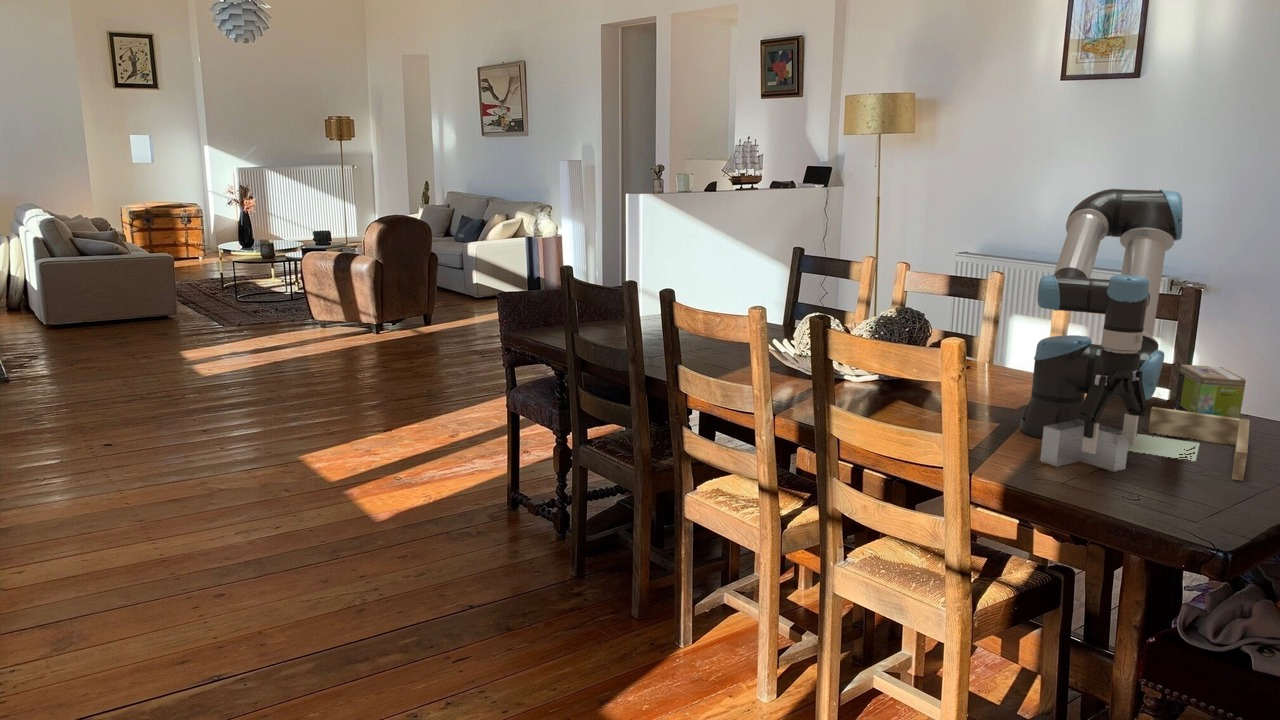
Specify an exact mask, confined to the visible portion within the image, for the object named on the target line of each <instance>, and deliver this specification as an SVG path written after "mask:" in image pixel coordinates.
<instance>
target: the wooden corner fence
mask: <svg viewBox="0 0 1280 720" xmlns="http://www.w3.org/2000/svg"><path fill="white" fill-rule="evenodd" d="M1149 416H1150V417H1149V424H1148V431H1147V433H1148V432H1149V433H1148V434H1153V433H1156V434H1155V435H1160V434H1161V436H1167V435H1168V436H1169V437H1174V436H1175V437H1174V438H1181V437H1182V439H1187V438H1190V439H1189V440H1194V439H1196V440H1197V441H1201V440H1202V442H1208V443H1209V442H1210V443H1215V444H1222V445H1228V444H1229V446H1235V445H1236V446H1235V448H1234V456H1233V457H1234V458H1233V464H1232V465H1233V467H1232V474H1231V480H1235V481H1241V482H1243V481H1244V477H1245V472H1246V463H1247V457H1248V452H1249V451H1248V449H1249V447H1248V446H1249V436H1250V435H1249V433H1250V421H1251V419H1245V418H1240V419H1239V418H1232V417H1224V416H1217V415H1209V414H1202V413H1195V412H1187V411H1180V410H1174V409H1170V408H1164V407H1156V406H1152V407H1151V408H1150V415H1149Z"/></svg>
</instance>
